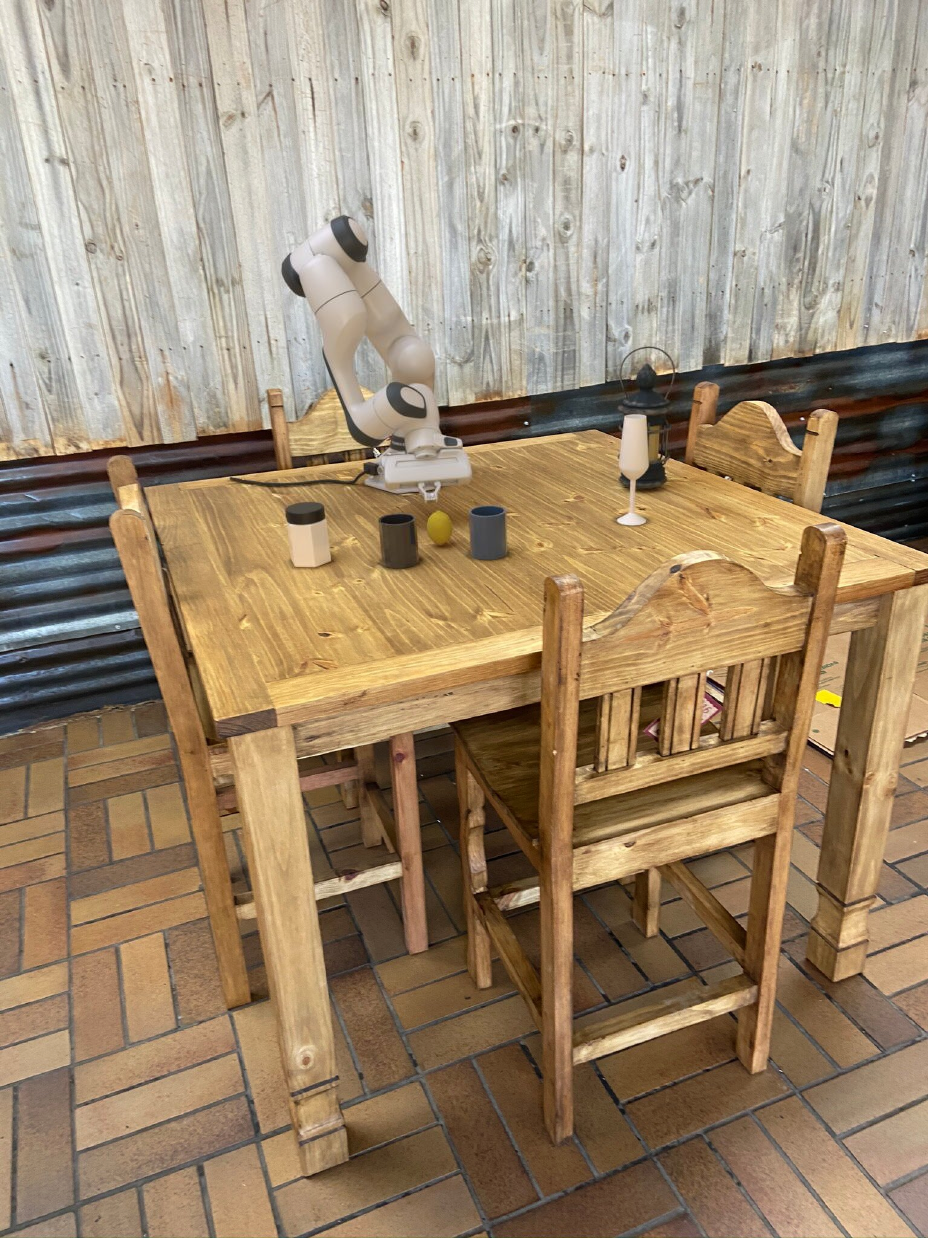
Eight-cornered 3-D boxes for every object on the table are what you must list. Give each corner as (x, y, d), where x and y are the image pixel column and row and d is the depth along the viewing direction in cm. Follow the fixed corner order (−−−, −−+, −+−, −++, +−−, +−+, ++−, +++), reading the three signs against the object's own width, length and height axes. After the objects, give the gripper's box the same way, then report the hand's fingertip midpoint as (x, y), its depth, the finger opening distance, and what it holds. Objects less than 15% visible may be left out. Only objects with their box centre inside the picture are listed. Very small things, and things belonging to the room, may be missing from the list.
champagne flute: (650, 517, 206) (654, 414, 196) (641, 526, 201) (645, 420, 191) (622, 514, 209) (625, 412, 199) (612, 523, 204) (615, 418, 194)
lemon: (454, 541, 197) (452, 506, 194) (451, 549, 192) (449, 514, 189) (429, 541, 198) (427, 506, 195) (426, 549, 193) (423, 514, 190)
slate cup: (463, 555, 189) (461, 513, 185) (484, 545, 194) (483, 503, 190) (493, 562, 184) (492, 518, 180) (514, 551, 190) (513, 508, 186)
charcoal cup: (374, 564, 186) (370, 521, 182) (398, 553, 192) (395, 511, 188) (402, 571, 182) (399, 527, 178) (426, 559, 188) (423, 516, 184)
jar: (314, 551, 196) (308, 498, 191) (339, 558, 191) (333, 504, 186) (282, 563, 189) (275, 509, 184) (307, 571, 184) (300, 515, 180)
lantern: (606, 490, 228) (609, 349, 213) (626, 477, 238) (630, 342, 223) (659, 497, 220) (666, 351, 206) (678, 483, 231) (685, 344, 216)
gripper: (379, 445, 202) (385, 498, 197) (468, 438, 204) (476, 491, 199) (380, 459, 208) (385, 511, 203) (466, 453, 210) (473, 505, 205)
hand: (431, 501), depth 201 cm, fingers closed
